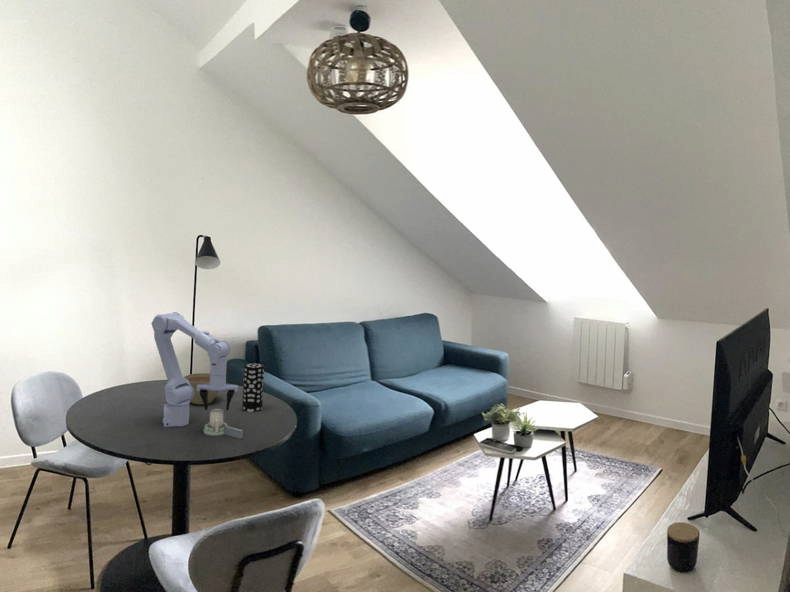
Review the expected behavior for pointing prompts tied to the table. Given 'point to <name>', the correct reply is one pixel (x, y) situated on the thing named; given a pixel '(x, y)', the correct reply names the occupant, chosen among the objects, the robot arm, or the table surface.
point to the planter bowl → (199, 380)
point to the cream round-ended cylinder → (216, 419)
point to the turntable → (224, 431)
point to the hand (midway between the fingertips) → (216, 409)
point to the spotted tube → (253, 387)
